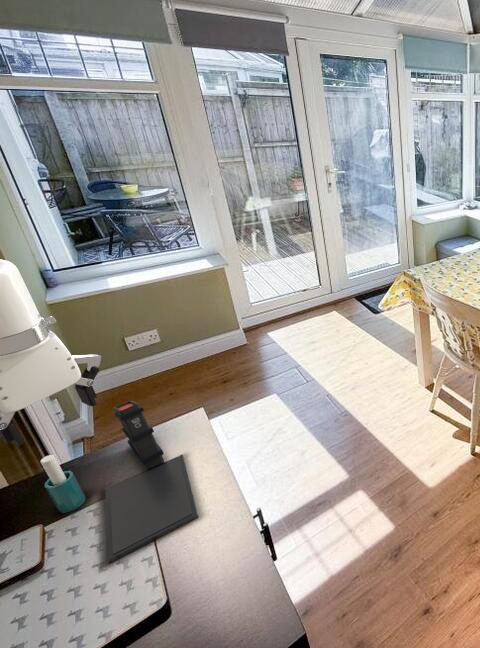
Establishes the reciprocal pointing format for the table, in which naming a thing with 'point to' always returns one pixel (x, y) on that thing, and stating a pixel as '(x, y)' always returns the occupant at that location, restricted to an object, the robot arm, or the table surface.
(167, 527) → the tablet
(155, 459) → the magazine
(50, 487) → the pen pot
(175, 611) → the table surface
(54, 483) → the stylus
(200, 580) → the table surface
